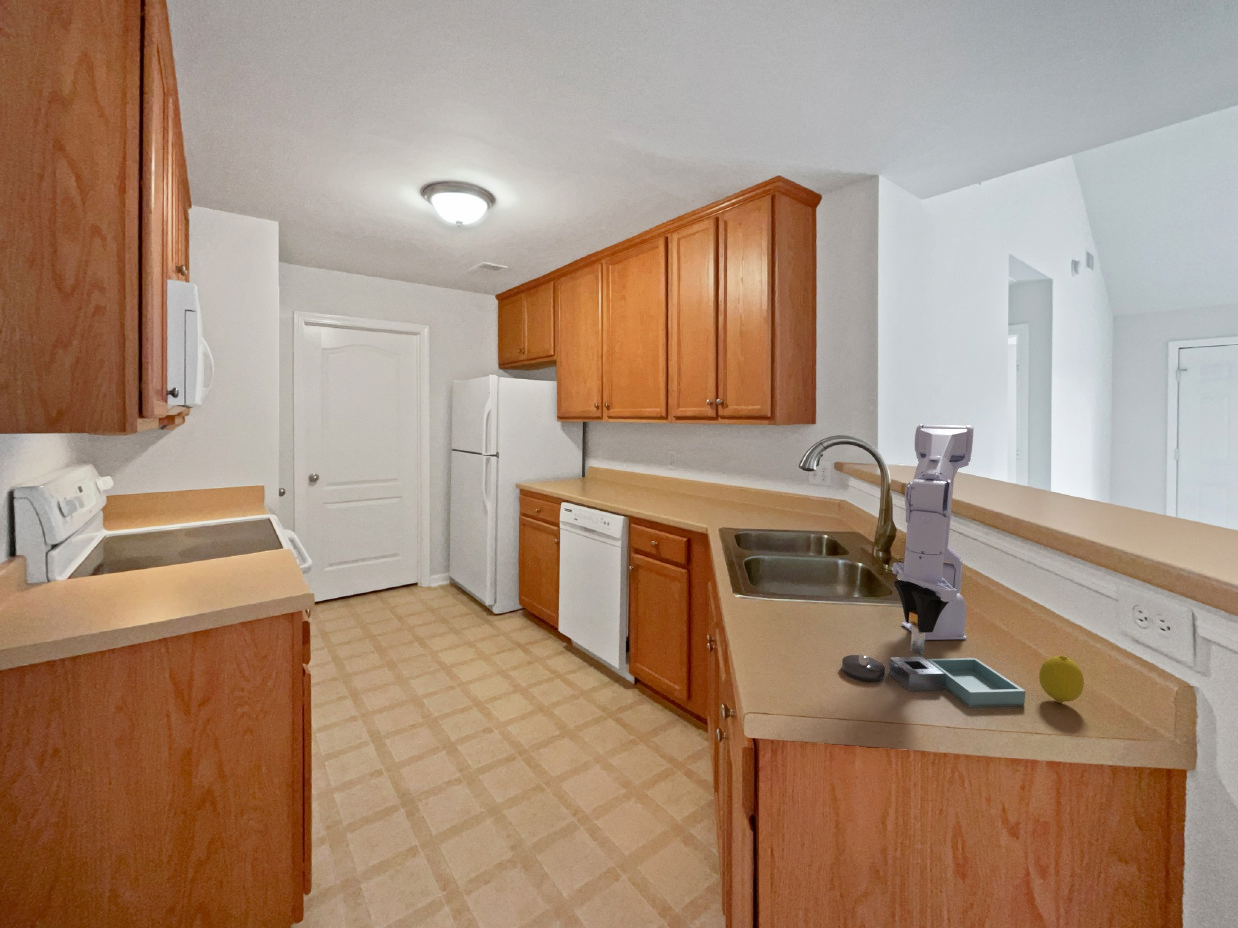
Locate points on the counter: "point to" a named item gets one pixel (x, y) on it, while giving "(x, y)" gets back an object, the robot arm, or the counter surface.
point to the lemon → (1061, 679)
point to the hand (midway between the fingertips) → (918, 626)
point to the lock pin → (916, 634)
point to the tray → (978, 683)
